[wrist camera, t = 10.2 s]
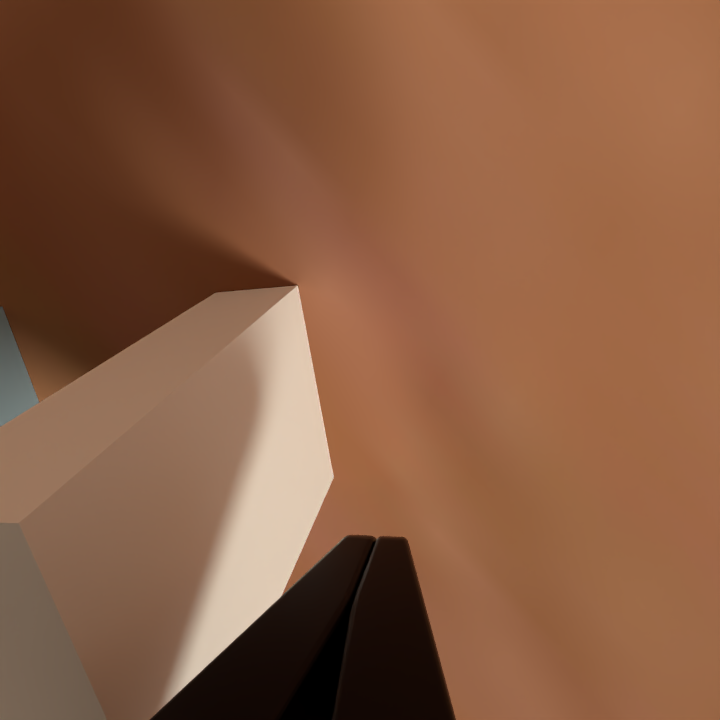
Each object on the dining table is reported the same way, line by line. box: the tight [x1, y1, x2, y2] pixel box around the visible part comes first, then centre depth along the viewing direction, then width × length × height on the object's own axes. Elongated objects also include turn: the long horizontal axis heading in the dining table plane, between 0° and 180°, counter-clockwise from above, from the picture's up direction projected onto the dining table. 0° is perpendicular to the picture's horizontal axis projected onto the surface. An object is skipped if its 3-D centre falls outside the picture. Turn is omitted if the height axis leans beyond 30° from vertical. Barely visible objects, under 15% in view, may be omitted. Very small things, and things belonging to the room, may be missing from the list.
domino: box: [0, 285, 334, 720], centre depth 10 cm, size 2×5×8 cm, turn 9°
